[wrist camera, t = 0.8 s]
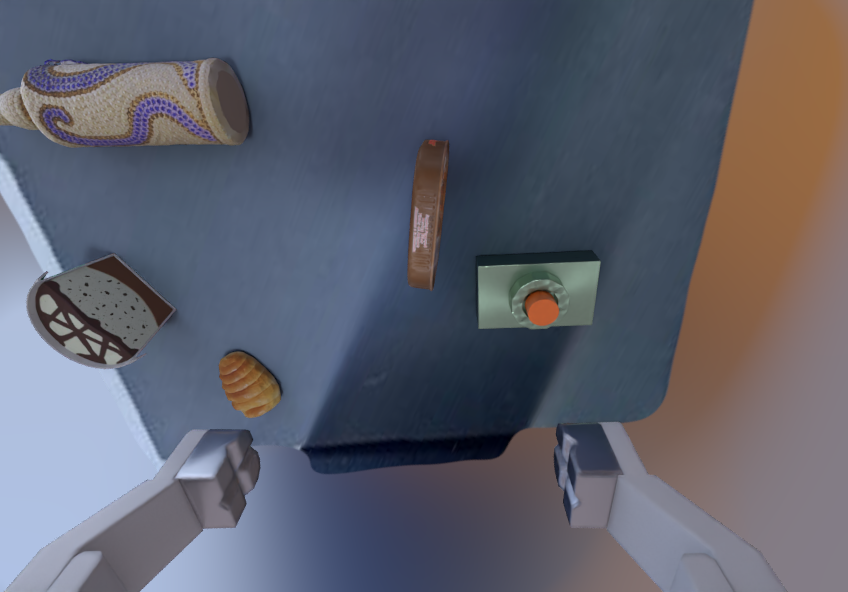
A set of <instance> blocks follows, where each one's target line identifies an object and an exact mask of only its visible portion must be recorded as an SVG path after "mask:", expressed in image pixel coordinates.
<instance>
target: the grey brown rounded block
mask: <svg viewBox="0 0 848 592" xmlns="http://www.w3.org/2000/svg"><path fill="white" fill-rule="evenodd" d="M47 273H48V272H47V271H46V272H45V273H44V274H43V275H41V276H40V277H39V278H38V279H37V280H36V281H35V283H34V284H33V286H32V287H31V289H30V290H29V293H28V295H27V301H26V302H27V312H28V316H29V318H30V320H31V323H32V324H33V326H34V328H35V330H36V331H37V332H38V334H39V335H40V336H41V338H42V339H43V340H44V341H45V342H46V343H47V344H49V345H50V346H51V347H52V348H53V349H54V350H56V351H57V352H59V353H60V354H62V355H63V356H65V357H67V358H68V359H70V360H72V361H75V362H77V363H79V364H82V365H85V366H88V367H94V368H100V369H113V368H118V367H121V366H125V365H128V364H130V363H132V362H134V361H136V360H138V359H139V358H141V357H143V356H144V355H146V353H145V354H143V355H141V356H140V357H137V358H136V356H137V355H138V354H139V353H140V352H141V351H142V349H143V348H144V347H145V346H146V345H147V343H148V342H149V341H150V340H151V339H152V338H153V336H154V335H155V334H156V333H157V332H158V331H159V329H160V328H161V327H162V326H163V325H164V324H165V322H166V321H167V320H168V319H169V318H170V316H171V315H172V314H173V313H174V312H175V311H176V308H175V307H173V306H172V305H171V304H170V303H169V302H168V301H167V300H166V299H165V298H164V297H162V296H161V295H160V294H159V293H158V292H157V291H156V290H155V289H154V288H152V287H151V286H150V285H149V284H148V283H147V282H146V281H145V280H144V279H143V278H141V277H140V276H139V275H138V274H137V273H136V272H135V271H134V270H133V269H131V268H130V267H129V266H128V265H127V264H126V263H125V262H124V261H123V260H122V259H120V258H119V257H118V256H117V255H116V254H115V253H113V254H110V255H108V256H105V257H102V258H100V259H97V260H94V261H92V262H89V263H86V264H84V265H81V266H78V267H76V268H73V269H70V270H68V271H65V272H62V273H60V274H57V275H54V276H52V277H49V278H46V279H44V277H45V276H46V274H47Z"/></svg>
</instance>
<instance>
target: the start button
mask: <svg viewBox="0 0 848 592" xmlns="http://www.w3.org/2000/svg"><path fill="white" fill-rule="evenodd" d="M525 309H526V312H527V315H528V317H529V320H530V321H531V322H532V323H534V324H536V325H539V326H545V325H549V324H551V323H553V322H554V321H555V320H556V319H557V317H558V315H559V307H558V305H557V303H556V301H555V299H554V297H553V296H552V294H550V293H549V292H547V291H536V292H533V293H532V294H530V295H529V296H528V297H527V299H526V301H525Z"/></svg>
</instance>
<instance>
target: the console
mask: <svg viewBox="0 0 848 592" xmlns="http://www.w3.org/2000/svg"><path fill="white" fill-rule="evenodd" d="M600 263H601V261H600V260H599V258H598V257H597V256H596V255H595V254H594V252H593V251H574V252H553V253H532V254H511V255H489V256H476V288H477V321H478V328H479V329H487V328H515V327H527V328H529V329H547V328H549V327H551V326H572V325H592V321H593V313H594V306H595V299H596V292H597V284H598V277H599V270H600ZM536 291H547V292H549V293H550V294H552V296H553V297H554V299H555V301H556V303H557V305H558V307H559V315H558V317H557V319H556V320H555V321H554V322H553V323H551V324H549V325H545V326H539V325H536V324H534V323H532V322H531V321H530V320H529V317H528V315H527V312H526V309H525V301H526V299H527V297H528V296H529V295H530V294H532V293H533V292H536Z"/></svg>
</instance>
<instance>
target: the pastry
mask: <svg viewBox="0 0 848 592" xmlns="http://www.w3.org/2000/svg"><path fill="white" fill-rule="evenodd" d="M219 370H220V376H219V377H220V379H221V380H222V388H223V389H224V390H225V394H226V396H227V398H228V400H230V401H232V406H233V407H234V409H235V410H241V411H242V412H243V413H244V415H245V417H248V418H254V417H258V416H261V415H263V414H264V413H266V412H268V411H270V410H271V409H272V408H274V407H275V406H276V405H277V404H278V403H279V402H280V400H281V394H280V389H279V385H278V383H277V382H276V380H275V378H274V377H273V376H272V375H271V373H270V372H268V371H267V370H266V368H265V367H264V366H262V365H261V364H260V363H259V362H258V361H257V360H256V359H255V358H253V357H252V356H249V355H247V354H245V353H244V352H239V351H236V352H232V353H229V354H228V355H227V356H225V357H224V358H222V359H221V361H220V364H219Z"/></svg>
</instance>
